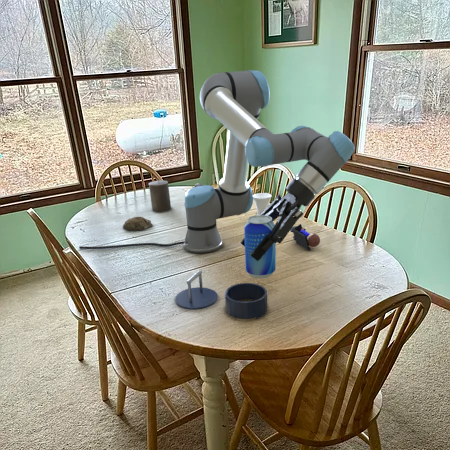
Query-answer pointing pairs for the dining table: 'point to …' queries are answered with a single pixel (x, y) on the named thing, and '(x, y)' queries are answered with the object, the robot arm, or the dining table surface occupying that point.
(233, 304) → the pot
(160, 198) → the pillar candle
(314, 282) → the dining table surface
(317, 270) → the dining table surface
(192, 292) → the lid
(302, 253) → the dining table surface
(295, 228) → the character figurine
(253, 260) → the beer can
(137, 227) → the bread roll
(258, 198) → the cup
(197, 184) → the toy dinosaur
